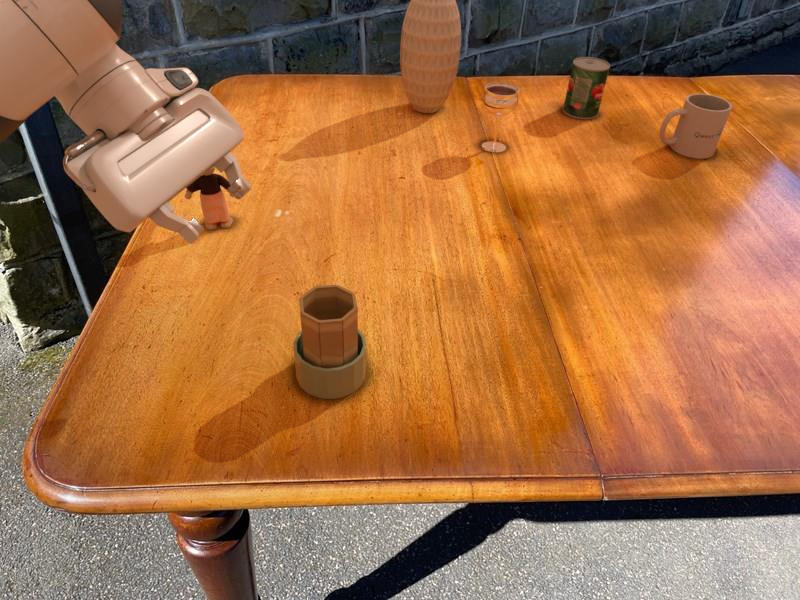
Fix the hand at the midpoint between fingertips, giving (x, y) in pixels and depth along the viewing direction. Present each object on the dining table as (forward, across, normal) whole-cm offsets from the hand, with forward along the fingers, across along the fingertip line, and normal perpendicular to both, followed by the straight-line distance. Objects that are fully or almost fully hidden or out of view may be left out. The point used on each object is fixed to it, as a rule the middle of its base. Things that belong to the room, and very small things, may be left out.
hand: (223, 214), depth 69 cm
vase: (+13, +81, +16) cm, 84 cm away
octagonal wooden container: (+22, 0, +5) cm, 23 cm away
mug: (+52, +85, -23) cm, 102 cm away
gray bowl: (+23, 0, +6) cm, 23 cm away
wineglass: (+26, +69, +3) cm, 74 cm away
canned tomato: (+36, +94, -7) cm, 101 cm away
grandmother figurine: (+1, +23, +28) cm, 36 cm away
